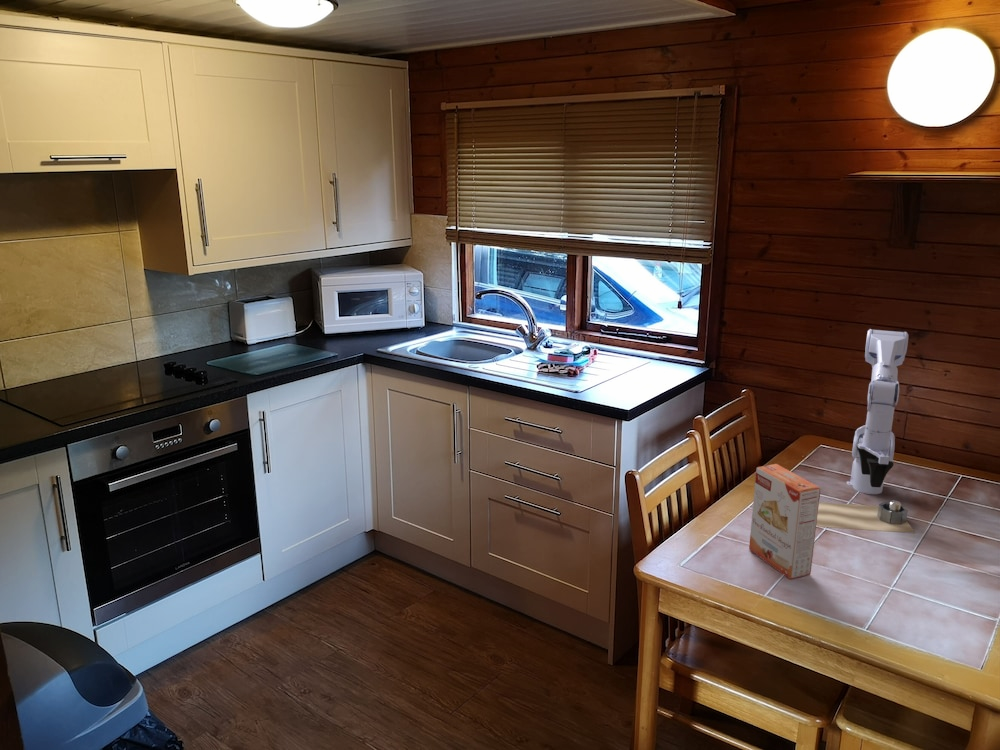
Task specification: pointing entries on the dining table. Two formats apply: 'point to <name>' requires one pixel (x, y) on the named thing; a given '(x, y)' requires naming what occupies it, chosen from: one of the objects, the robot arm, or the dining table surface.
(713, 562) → the dining table surface
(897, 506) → the steel post
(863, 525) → the board
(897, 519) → the ring hub
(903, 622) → the dining table surface
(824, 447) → the dining table surface
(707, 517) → the dining table surface
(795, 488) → the cracker box
